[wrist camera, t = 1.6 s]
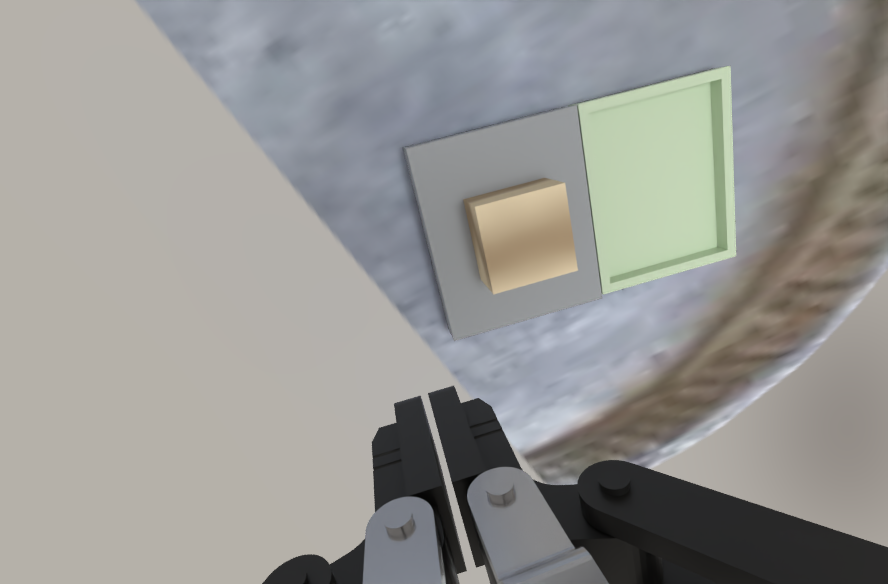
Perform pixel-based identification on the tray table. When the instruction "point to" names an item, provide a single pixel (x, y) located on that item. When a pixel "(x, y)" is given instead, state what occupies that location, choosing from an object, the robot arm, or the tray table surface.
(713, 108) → the box
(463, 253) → the plate
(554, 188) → the tan square block
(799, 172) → the tray table surface
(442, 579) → the robot arm
